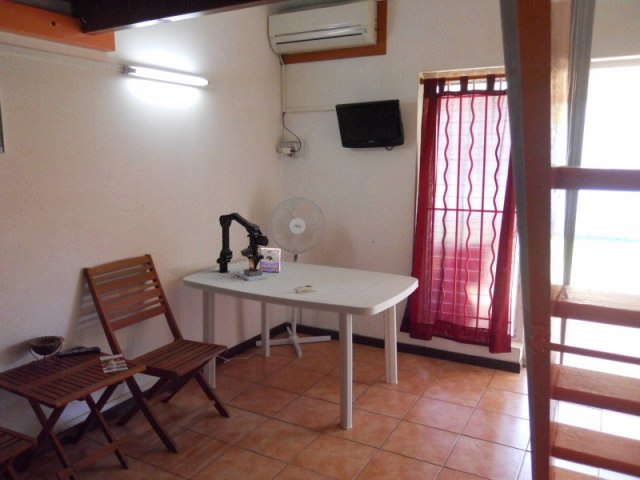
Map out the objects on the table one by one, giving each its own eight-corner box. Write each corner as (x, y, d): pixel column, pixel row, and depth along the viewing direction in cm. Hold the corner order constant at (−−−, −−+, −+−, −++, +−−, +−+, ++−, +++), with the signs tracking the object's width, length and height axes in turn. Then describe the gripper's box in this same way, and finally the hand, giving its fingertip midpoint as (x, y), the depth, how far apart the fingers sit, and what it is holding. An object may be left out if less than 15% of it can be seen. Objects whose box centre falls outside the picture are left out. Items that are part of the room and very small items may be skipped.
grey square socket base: (237, 275, 336) (237, 268, 335) (254, 273, 344) (254, 266, 343) (248, 280, 323) (248, 273, 322) (266, 278, 330) (266, 271, 329)
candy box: (280, 271, 354) (281, 248, 352) (278, 272, 349) (279, 249, 346) (261, 269, 356) (261, 247, 353) (259, 271, 350) (260, 248, 347)
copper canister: (247, 270, 331) (248, 258, 330) (254, 269, 334) (254, 257, 333) (251, 271, 327) (251, 259, 326) (258, 270, 330) (258, 259, 329)
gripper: (236, 242, 331) (235, 265, 333) (248, 247, 316) (248, 271, 318) (251, 241, 337) (250, 264, 340) (264, 246, 322) (263, 270, 325)
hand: (253, 267), depth 330 cm, fingers closed on copper canister, 5 cm apart
